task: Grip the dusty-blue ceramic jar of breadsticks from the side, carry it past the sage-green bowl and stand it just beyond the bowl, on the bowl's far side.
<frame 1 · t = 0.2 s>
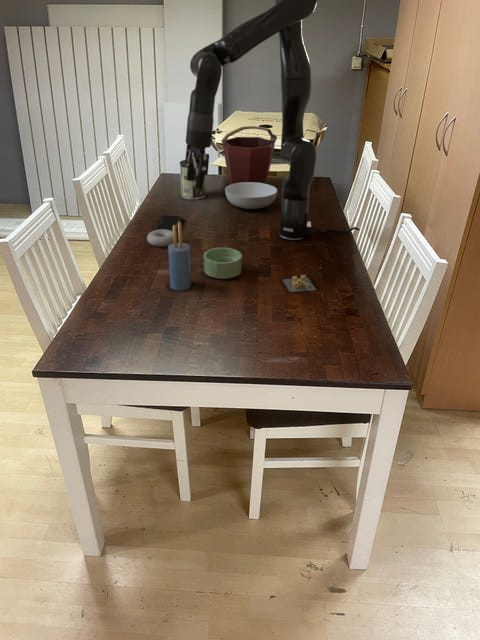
hand: (194, 184, 157), 22 cm above the table, tool pointing down, fingers open, 8 cm apart
bowl: (222, 271, 157), on the table
phone: (168, 226, 188), on the table
breadstick jar: (180, 285, 148), on the table
donut: (162, 243, 175), on the table
carved rune cylinders: (298, 285, 151), on the table
coffee can: (193, 196, 218), on the table
bucket: (248, 185, 233), on the table
serving bowl: (250, 206, 209), on the table
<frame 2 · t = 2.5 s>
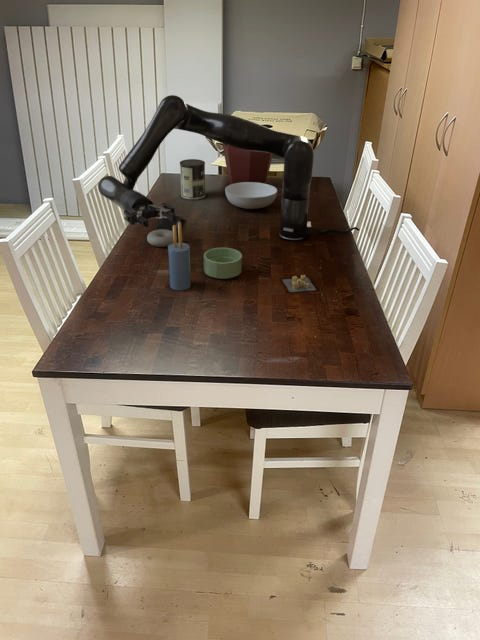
hand: (160, 221, 147), 16 cm above the table, tool horizontal, fingers open, 8 cm apart
nothing on the table moved.
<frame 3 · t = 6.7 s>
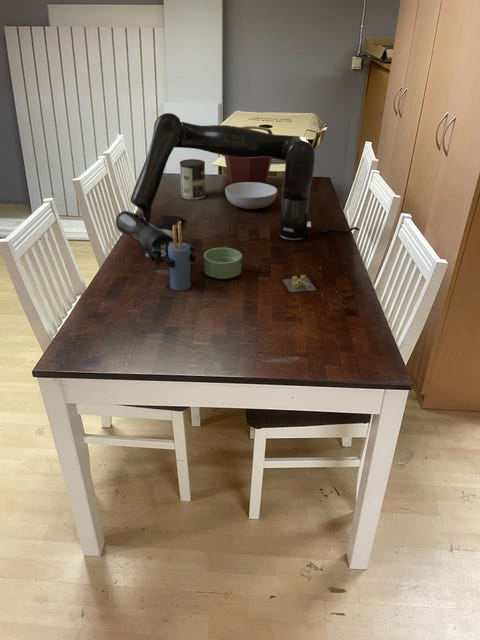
hand: (183, 261, 142), 9 cm above the table, tool horizontal, fingers closed on breadstick jar, 6 cm apart
breadstick jar: (180, 285, 148), on the table, touching gripper
everything else where it was.
when the fingers open (9 cm above the table, at t = 15.1 s): breadstick jar stays where it is, on the table.
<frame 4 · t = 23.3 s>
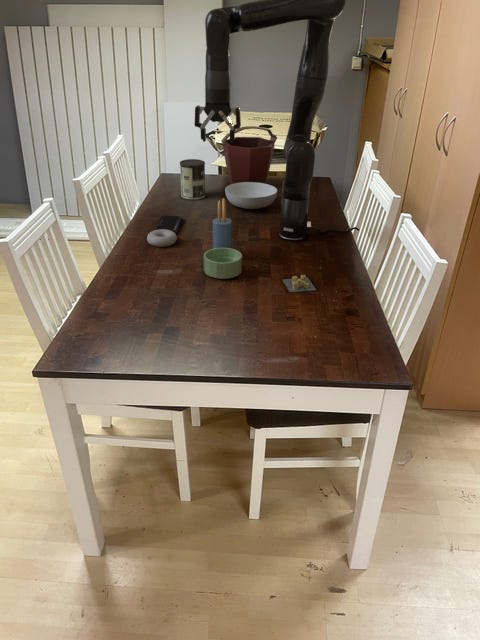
hand: (217, 141, 164), 32 cm above the table, tool pointing down, fingers open, 8 cm apart
breadstick jar: (222, 256, 166), on the table
everything else where it was.
at the end: breadstick jar inside the target area on the table beside the bowl (0.6 cm from its centre), on the table; breadstick jar tilted 0°; the gripper is holding nothing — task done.
